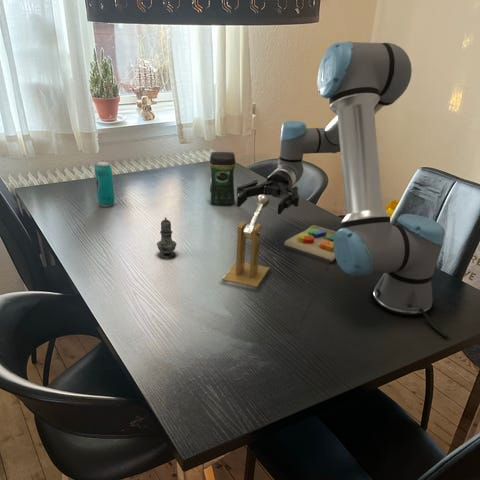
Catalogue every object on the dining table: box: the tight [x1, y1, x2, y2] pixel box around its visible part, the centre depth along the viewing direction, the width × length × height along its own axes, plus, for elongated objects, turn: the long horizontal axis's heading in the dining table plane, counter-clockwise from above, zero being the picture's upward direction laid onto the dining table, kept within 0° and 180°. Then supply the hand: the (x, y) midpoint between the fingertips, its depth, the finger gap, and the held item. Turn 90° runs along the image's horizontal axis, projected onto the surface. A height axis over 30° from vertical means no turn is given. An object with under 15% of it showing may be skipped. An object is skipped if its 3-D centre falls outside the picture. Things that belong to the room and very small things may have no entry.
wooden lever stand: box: [221, 220, 271, 289], centre depth 136 cm, size 12×10×16 cm
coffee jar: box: [208, 151, 237, 206], centre depth 184 cm, size 10×8×19 cm
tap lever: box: [243, 194, 270, 240], centre depth 136 cm, size 15×4×4 cm, turn 158°
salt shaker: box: [156, 216, 177, 260], centre depth 147 cm, size 6×6×12 cm
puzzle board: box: [283, 225, 337, 263], centre depth 160 cm, size 18×19×3 cm
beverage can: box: [94, 160, 115, 208], centre depth 177 cm, size 6×6×15 cm
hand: (258, 205), depth 136 cm, fingers open, 11 cm apart
